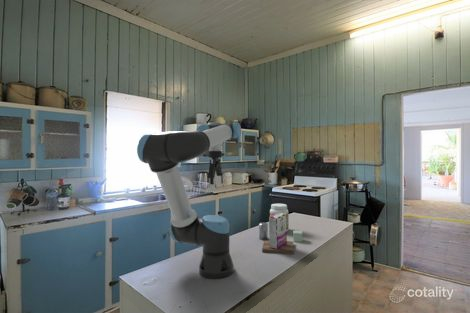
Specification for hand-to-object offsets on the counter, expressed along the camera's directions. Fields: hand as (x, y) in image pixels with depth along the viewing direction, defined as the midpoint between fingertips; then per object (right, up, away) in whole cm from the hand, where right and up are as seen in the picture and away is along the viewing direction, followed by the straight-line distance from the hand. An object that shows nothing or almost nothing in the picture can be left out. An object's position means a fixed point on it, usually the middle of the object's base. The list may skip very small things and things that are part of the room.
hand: (215, 188), depth 142 cm
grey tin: (+28, -31, +10) cm, 43 cm away
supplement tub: (+40, -31, +26) cm, 57 cm away
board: (+34, -31, -5) cm, 46 cm away
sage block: (+47, -31, +7) cm, 57 cm away
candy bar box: (+34, -30, -5) cm, 46 cm away
